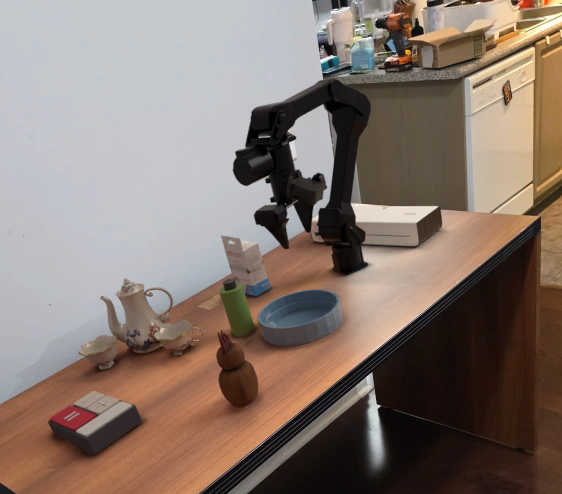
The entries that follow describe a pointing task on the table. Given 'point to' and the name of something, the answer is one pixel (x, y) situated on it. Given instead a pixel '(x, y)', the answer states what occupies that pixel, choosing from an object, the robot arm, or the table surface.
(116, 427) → the calculator
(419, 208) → the laminator
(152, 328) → the chinaware
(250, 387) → the wooden figurine
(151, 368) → the table surface
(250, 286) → the ink box
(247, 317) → the green bottle
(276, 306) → the basin
